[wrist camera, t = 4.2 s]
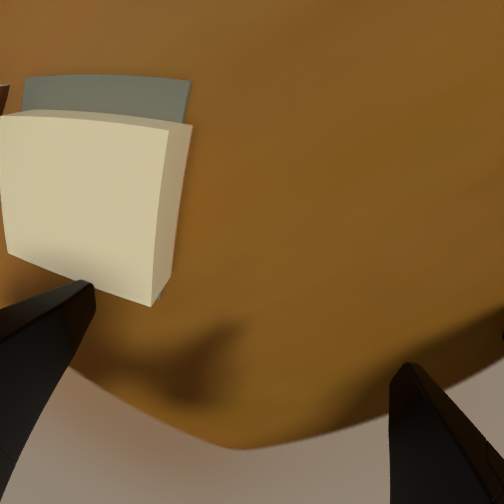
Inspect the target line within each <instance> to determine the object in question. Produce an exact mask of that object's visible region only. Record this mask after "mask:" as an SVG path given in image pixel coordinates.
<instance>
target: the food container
mask: <svg viewBox="0 0 504 504" xmlns="http://www.w3.org/2000/svg"><path fill="white" fill-rule="evenodd" d="M9 86H10V85H0V116H2V113H3V110H4V107H5V103H6V100H7V95H8V91H9Z"/></svg>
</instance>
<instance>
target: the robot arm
mask: <svg viewBox="0 0 504 504" xmlns="http://www.w3.org/2000/svg"><path fill="white" fill-rule="evenodd" d="M95 311H96V299H95V288H94V285H93V284H92V283H91V282H88V281H85V280H82V279H80V280H77V281H74V282H71V283H68V284H66V285H63V286H60V287H58V288H55V289H52V290H49V291H47V292H44V293H41V294H39V295H36V296H33V297H31V298H28V299H26V300H23V301H20V302H18V303H15V304H12V305H10V306H7V307H5V308H2V309H0V501H1V498H2V496H3V493H4V491H5V488H6V486H7V484H8V481H9V479H10V477H11V474H12V472H13V470H14V468H15V465H16V464H15V463H17V461H18V458H19V456H20V454H21V452H22V450H23V448H24V446H25V444H26V442H27V440H28V438H29V435H30V434H31V432H32V430H33V428H34V426H35V424H36V422H37V420H38V418H39V416H40V414H41V413H42V411H43V409H44V407H45V405H46V403H47V402H48V400H49V398H50V396H51V394H52V393H53V391H54V389H55V387H56V386H57V384H58V382H59V380H60V379H61V377H62V375H63V373H64V372H65V370H66V368H67V367H68V365H69V363H70V362H71V360H72V358H73V357H74V355H75V353H76V351H77V349H78V347H79V345H80V343H81V340H82V338H83V336H84V334H85V332H86V330H87V328H88V326H89V324H90V322H91V320H92V318H93V316H94V314H95ZM503 340H504V335H503ZM389 453H390V504H504V459H503V458H502V457H501V456H500V454H499V453H498V452H497V451H496V450H495V449H494V448H493V446H492V445H491V444H490V443H489V442H488V441H487V440H486V438H485V437H484V436H483V435H482V434H481V432H480V431H479V430H478V429H477V428H476V427H475V426H474V424H473V423H472V422H471V421H470V420H469V419H468V418H467V417H466V415H465V414H464V413H463V412H462V411H461V410H460V409H459V408H458V406H457V405H456V404H455V403H454V402H453V401H452V400H451V399H450V398H449V397H448V395H447V394H446V393H445V392H444V391H443V390H442V389H441V388H440V387H439V385H438V384H437V383H436V382H435V381H434V380H433V379H432V378H431V377H430V376H429V375H428V374H427V373H426V371H425V370H424V369H423V368H422V367H421V366H420V365H419V364H417V363H413V362H405V363H404V364H403V365H402V366H401V368H400V369H399V370H398V372H397V373H396V374H395V376H394V377H393V378H392V380H391V382H390V386H389Z"/></svg>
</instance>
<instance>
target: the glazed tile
mask: <svg viewBox="0 0 504 504" xmlns="http://www.w3.org/2000/svg"><path fill="white" fill-rule="evenodd" d="M193 126H194V125H190V124H185V123H179V122H173V121H166V120H159V119H152V118H145V117H137V116H129V115H120V114H110V113H100V112H87V111H72V110H49V109H35V110H29V111H23V112H18V113H13V114H8V115H3V116H0V192H1V204H2V214H3V223H4V230H5V237H6V244H7V250H8V253H9V254H12V255H14V256H16V257H18V258H21V259H23V260H25V261H28V262H30V263H32V264H35V265H37V266H39V267H42V268H44V269H47V270H49V271H52V272H54V273H57V274H59V275H62V276H64V277H67V278H70V279H72V280H75V281H77V280H80V279H82V280H85V281H88V282H91V283H92V284H93V285H94V288H96V289H99V290H102V291H105V292H108V293H110V294H113V295H116V296H119V297H122V298H125V299H128V300H131V301H134V302H137V303H140V304H143V305H146V306H149V307H151V306H152V305H153V303H154V301H155V300H156V298H157V297H158V295H159V294H160V292H161V290H162V289H163V287H164V286H165V284H166V283H167V281H168V280H169V278H170V277H171V275H172V267H173V258H174V249H175V240H176V232H177V225H178V217H179V210H180V203H181V196H182V190H183V183H184V177H185V171H186V165H187V159H188V153H189V148H190V142H191V137H192V132H193Z"/></svg>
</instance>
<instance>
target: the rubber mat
mask: <svg viewBox="0 0 504 504" xmlns="http://www.w3.org/2000/svg"><path fill="white" fill-rule="evenodd" d="M191 85H192V81H186V80H178V79H169V78H159V77H147V76H131V75H105V74H77V75H52V76H37V77H26V78H25V82H24V90H23V98H22V108H21V112H23V111H29V110H35V109H49V110H72V111H87V112H100V113H110V114H120V115H129V116H137V117H145V118H152V119H159V120H166V121H173V122H179V123H184V119H185V114H186V109H187V104H188V99H189V94H190V89H191ZM161 297H162V290H161V292H160V294H159V295H158V297H157V298H156V299H158V300H160V299H161Z"/></svg>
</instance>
